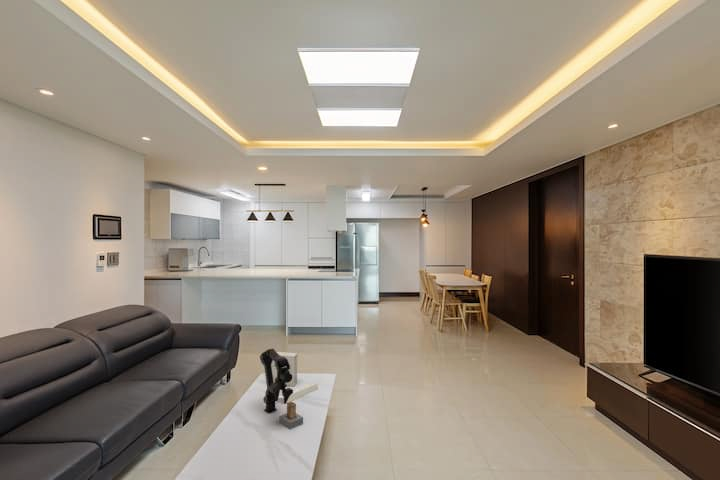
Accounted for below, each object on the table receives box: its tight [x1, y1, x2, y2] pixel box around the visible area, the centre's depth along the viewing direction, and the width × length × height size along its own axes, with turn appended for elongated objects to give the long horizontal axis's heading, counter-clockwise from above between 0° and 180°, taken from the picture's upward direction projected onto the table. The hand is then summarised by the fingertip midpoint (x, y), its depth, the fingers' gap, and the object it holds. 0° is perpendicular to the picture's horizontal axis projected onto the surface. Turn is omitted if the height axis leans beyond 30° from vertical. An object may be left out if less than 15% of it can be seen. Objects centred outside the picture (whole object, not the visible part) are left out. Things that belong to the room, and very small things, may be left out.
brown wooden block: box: [286, 401, 297, 420], centre depth 225 cm, size 5×4×12 cm
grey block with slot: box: [278, 412, 304, 430], centre depth 225 cm, size 12×10×4 cm
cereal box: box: [271, 351, 298, 388], centre depth 288 cm, size 22×8×25 cm, turn 81°
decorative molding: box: [277, 383, 319, 405], centre depth 267 cm, size 34×5×10 cm
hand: (280, 401), depth 228 cm, fingers open, 9 cm apart
